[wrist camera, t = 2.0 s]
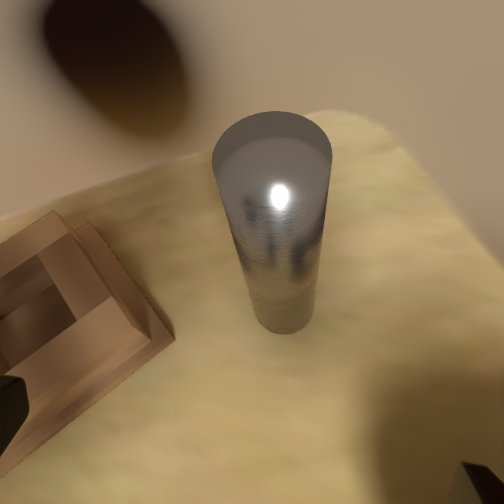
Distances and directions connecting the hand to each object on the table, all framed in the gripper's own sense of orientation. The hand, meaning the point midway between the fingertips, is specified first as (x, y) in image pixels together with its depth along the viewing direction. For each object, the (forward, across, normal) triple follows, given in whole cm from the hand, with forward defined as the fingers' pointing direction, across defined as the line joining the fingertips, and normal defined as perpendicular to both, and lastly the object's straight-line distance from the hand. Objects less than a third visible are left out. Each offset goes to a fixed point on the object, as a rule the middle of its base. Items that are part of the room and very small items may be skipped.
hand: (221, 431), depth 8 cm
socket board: (+12, +13, +7) cm, 19 cm away
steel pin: (+14, 0, +4) cm, 15 cm away
